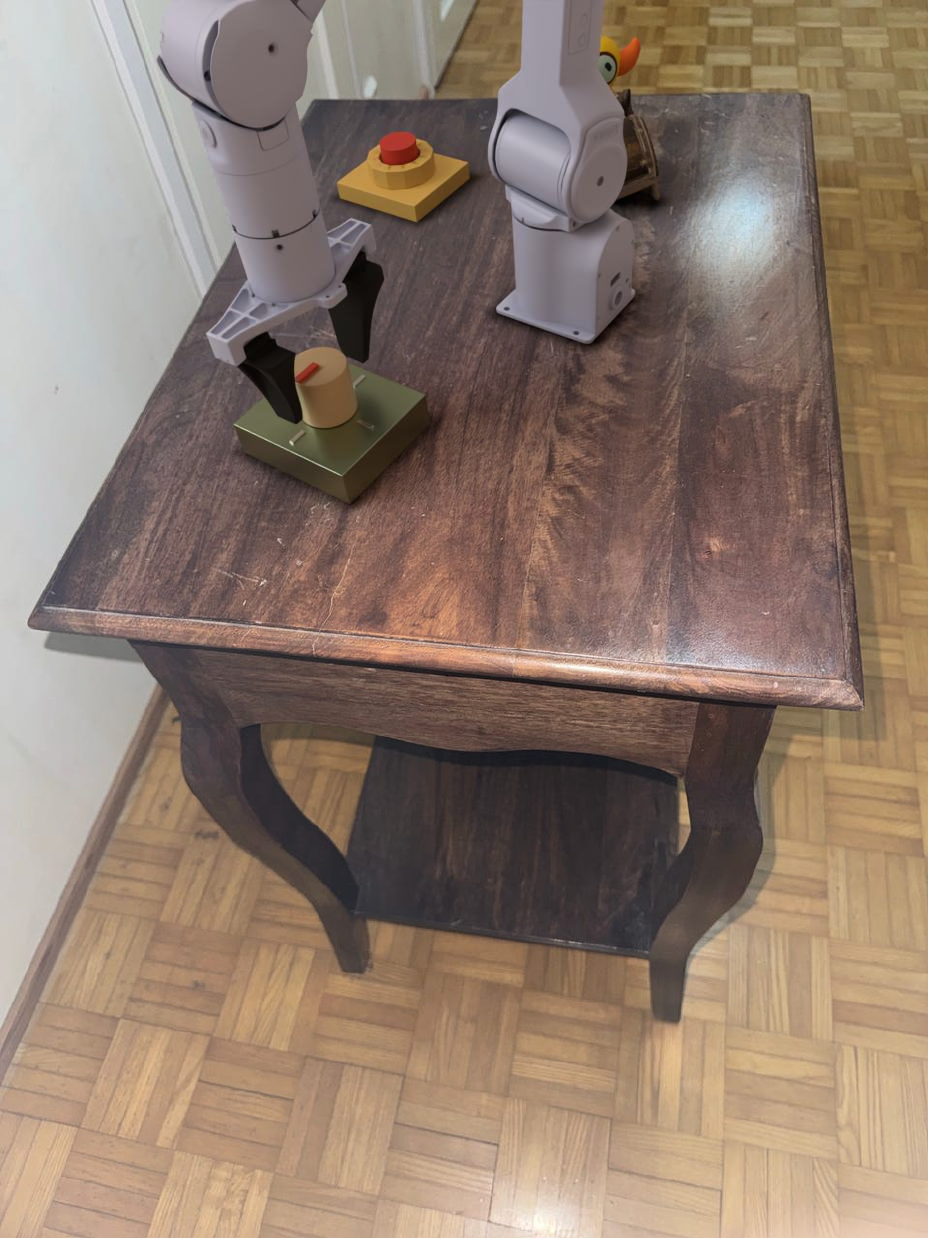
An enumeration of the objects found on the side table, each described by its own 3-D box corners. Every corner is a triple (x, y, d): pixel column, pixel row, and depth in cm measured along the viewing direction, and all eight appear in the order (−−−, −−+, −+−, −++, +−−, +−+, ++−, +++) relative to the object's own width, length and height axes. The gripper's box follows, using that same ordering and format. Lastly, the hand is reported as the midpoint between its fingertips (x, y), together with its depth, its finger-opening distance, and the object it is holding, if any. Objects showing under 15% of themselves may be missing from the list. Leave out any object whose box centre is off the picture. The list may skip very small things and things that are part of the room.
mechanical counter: (664, 175, 79) (677, 95, 83) (520, 160, 81) (538, 82, 84) (652, 238, 86) (664, 162, 89) (519, 223, 87) (536, 148, 91)
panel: (430, 424, 71) (425, 392, 69) (350, 505, 67) (341, 474, 64) (325, 379, 76) (317, 348, 73) (244, 452, 71) (231, 422, 69)
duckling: (623, 119, 96) (628, 14, 88) (646, 141, 93) (653, 34, 85) (524, 147, 95) (520, 42, 87) (544, 170, 92) (541, 64, 84)
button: (425, 153, 90) (423, 135, 89) (403, 170, 88) (400, 153, 87) (397, 146, 91) (394, 128, 90) (375, 162, 90) (371, 145, 88)
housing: (470, 178, 92) (466, 143, 90) (417, 222, 88) (411, 187, 86) (393, 156, 96) (388, 123, 94) (339, 198, 92) (332, 164, 90)
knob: (326, 382, 71) (313, 336, 67) (369, 401, 69) (358, 354, 65) (288, 415, 69) (273, 370, 65) (331, 435, 67) (318, 389, 63)
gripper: (240, 294, 51) (299, 466, 62) (396, 171, 58) (424, 347, 69) (157, 261, 54) (227, 431, 65) (314, 147, 61) (354, 320, 71)
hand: (323, 386), depth 67 cm, fingers open, 7 cm apart
